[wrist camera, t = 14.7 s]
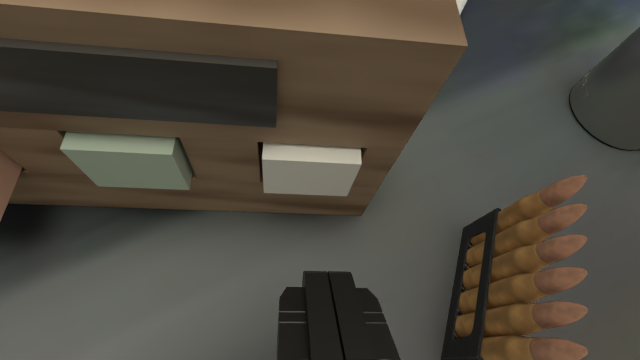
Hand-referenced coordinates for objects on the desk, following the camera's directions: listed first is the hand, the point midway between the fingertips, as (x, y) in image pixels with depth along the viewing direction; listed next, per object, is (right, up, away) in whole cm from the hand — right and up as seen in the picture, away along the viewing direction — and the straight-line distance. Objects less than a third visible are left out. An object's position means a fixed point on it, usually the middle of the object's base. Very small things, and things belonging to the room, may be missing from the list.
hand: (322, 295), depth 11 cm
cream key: (-1, +5, +13) cm, 14 cm away
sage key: (-11, +6, +12) cm, 17 cm away
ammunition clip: (+11, -5, +16) cm, 20 cm away
